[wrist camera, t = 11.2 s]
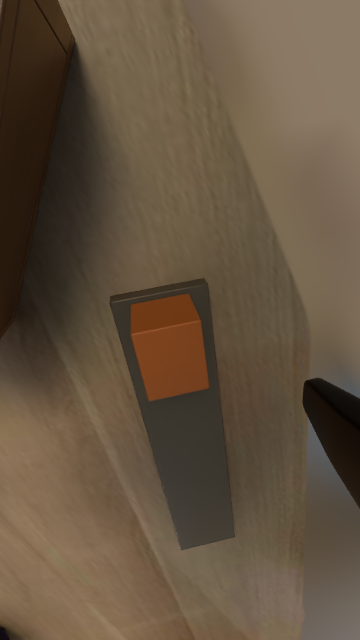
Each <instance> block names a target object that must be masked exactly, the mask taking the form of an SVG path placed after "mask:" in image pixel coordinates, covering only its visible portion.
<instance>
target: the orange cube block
mask: <svg viewBox="0 0 360 640" xmlns="http://www.w3.org/2000/svg"><path fill="white" fill-rule="evenodd" d="M131 338H132V341H133V345H134V349H135V353H136V356H137V360H138V364H139V368H140V371H141V375H142V379H143V383H144V386H145V390H146V394H147V398H148V400H149V401H153V400H158V399H162V398H167V397H172V396H176V395H181V394H185V393H190V392H195V391H199V390H204V389H208V388H209V379H208V372H207V364H206V356H205V348H204V340H203V333H202V325H201V320H200V318H199V315H198V313H197V311H196V309H195V306H194V304H193V302H192V300H191V297H190V295H189V294H182V295H177V296H172V297H167V298H162V299H157V300H152V301H147V302H142V303H137V304H132V305H131Z"/></svg>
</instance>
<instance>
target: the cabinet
mask: <svg viewBox="0 0 360 640" xmlns="http://www.w3.org/2000/svg"><path fill="white" fill-rule="evenodd" d="M74 42H75V38H74V36H73V34H72V31H71V29H70V27H69V24H68V22H67V20H66V18H65V16H64V13H63V11H62V9H61V7H60V4H59V2H58V0H0V339H1V338H2V337H3V335H4V334H5V332H6V331H7V330H8V328H9V327H10V326H11V324H12V323H13V322H14V318H15V313H16V308H17V304H18V299H19V295H20V290H21V285H22V281H23V276H24V272H25V267H26V262H27V258H28V253H29V249H30V244H31V240H32V235H33V230H34V226H35V221H36V217H37V212H38V207H39V203H40V198H41V194H42V189H43V184H44V180H45V175H46V171H47V166H48V161H49V157H50V152H51V148H52V143H53V138H54V134H55V129H56V125H57V120H58V116H59V111H60V106H61V102H62V97H63V93H64V88H65V83H66V79H67V74H68V70H69V65H70V60H71V56H72V51H73V47H74Z"/></svg>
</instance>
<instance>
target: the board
mask: <svg viewBox="0 0 360 640" xmlns="http://www.w3.org/2000/svg"><path fill="white" fill-rule="evenodd" d="M182 294H189V295H190V297H191V300H192V302H193V304H194V306H195V309H196V311H197V313H198V315H199V318H200V320H201V325H202V333H203V340H204V348H205V356H206V364H207V372H208V379H209V388H208V389H204V390H199V391H195V392H190V393H185V394H181V395H176V396H172V397H167V398H162V399H158V400H153V401H149V400H148V398H147V394H146V390H145V386H144V383H143V379H142V375H141V371H140V368H139V364H138V360H137V356H136V353H135V349H134V345H133V341H132V338H131V305H132V304H137V303H142V302H147V301H152V300H157V299H162V298H167V297H172V296H177V295H182ZM110 306H111V309H112V313H113V316H114V320H115V323H116V327H117V330H118V334H119V337H120V341H121V344H122V347H123V351H124V354H125V358H126V361H127V365H128V368H129V372H130V375H131V379H132V382H133V385H134V389H135V392H136V396H137V399H138V403H139V406H140V410H141V413H142V417H143V420H144V423H145V427H146V430H147V434H148V437H149V441H150V444H151V448H152V451H153V455H154V458H155V461H156V465H157V468H158V472H159V475H160V479H161V482H162V486H163V489H164V493H165V496H166V499H167V503H168V506H169V510H170V513H171V517H172V520H173V524H174V527H175V530H176V534H177V537H178V541H179V544H180V548H181V550H184V549H188V548H192V547H196V546H200V545H205V544H209V543H213V542H217V541H221V540H225V539H229V538H233V537H235V533H234V524H233V515H232V505H231V496H230V487H229V477H228V468H227V459H226V449H225V440H224V431H223V421H222V412H221V403H220V394H219V384H218V375H217V366H216V356H215V347H214V338H213V328H212V319H211V310H210V300H209V291H208V284H207V282H206V280H205V279H204V278H203V279H197V280H192V281H187V282H182V283H177V284H172V285H166V286H161V287H156V288H151V289H146V290H141V291H135V292H130V293H125V294H120V295H115V296H111V297H110Z"/></svg>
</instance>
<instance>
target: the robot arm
mask: <svg viewBox="0 0 360 640" xmlns="http://www.w3.org/2000/svg"><path fill="white" fill-rule="evenodd" d="M303 407H304V409H305V412H306V414H307V416H308V418H309V420H310V422H311V424H312V426H313V428H314V430H315V432H316V434H317V436H318V438H319V440H320V442H321V444H322V446H323V448H324V450H325V452H326V454H327V456H328V458H329V460H330V462H331V463H332V465H333V466H334V468H335V470H336V471H337V473H338V475H339V476H340V478H341V479H342V481H343V483H344V484H345V486H346V487H347V489H348V491H349V492H350V494H351V496H352V497H353V498H354V500H355V502H356V504H357V505H358V507H359V508H360V398H358V397H356V396H354V395H352V394H350V393H348V392H346V391H344V390H342V389H340V388H339V387H337V386H335V385H333V384H331V383H329V382H327V381H325V380H323V379H321V378H314V379H310V380H306V381H305V382H304V388H303Z"/></svg>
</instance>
